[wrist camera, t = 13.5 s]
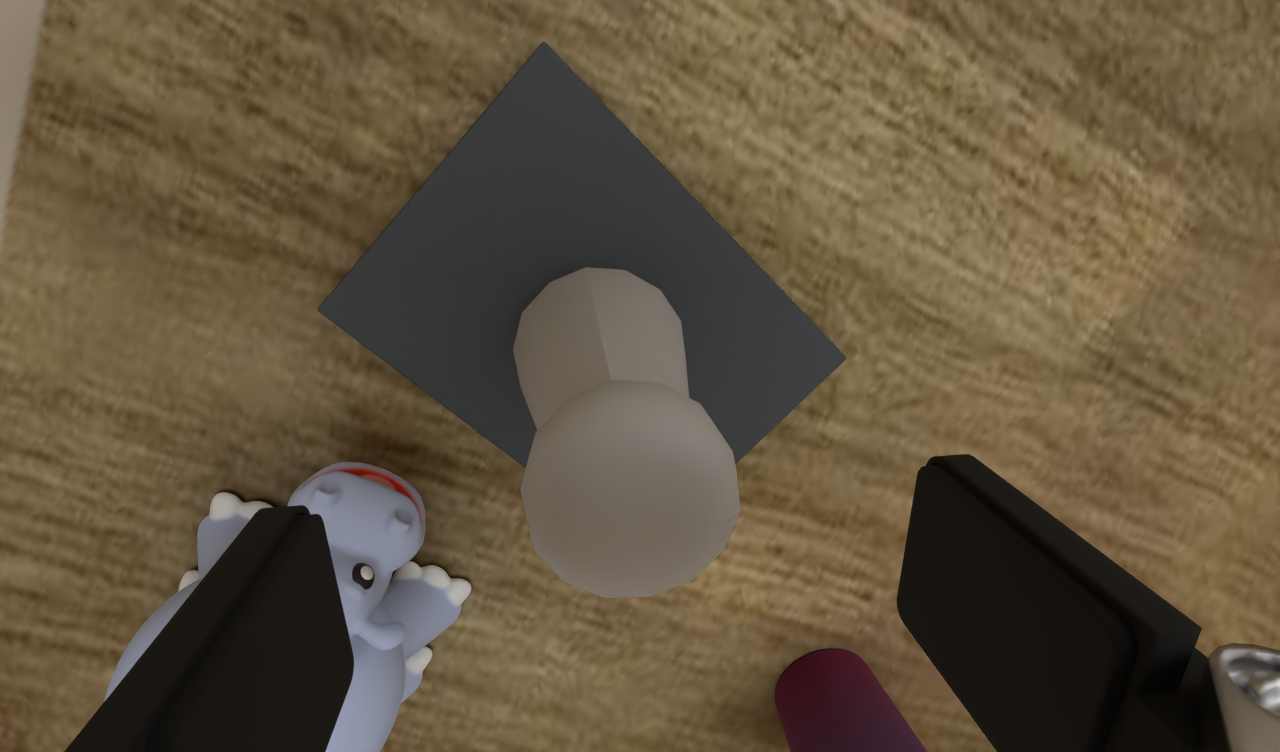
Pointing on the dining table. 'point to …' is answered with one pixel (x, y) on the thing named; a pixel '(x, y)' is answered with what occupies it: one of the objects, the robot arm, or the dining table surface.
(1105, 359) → the dining table surface
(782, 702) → the cup
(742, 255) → the mat
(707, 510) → the salt shaker
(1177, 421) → the dining table surface
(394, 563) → the hippopotamus toy
